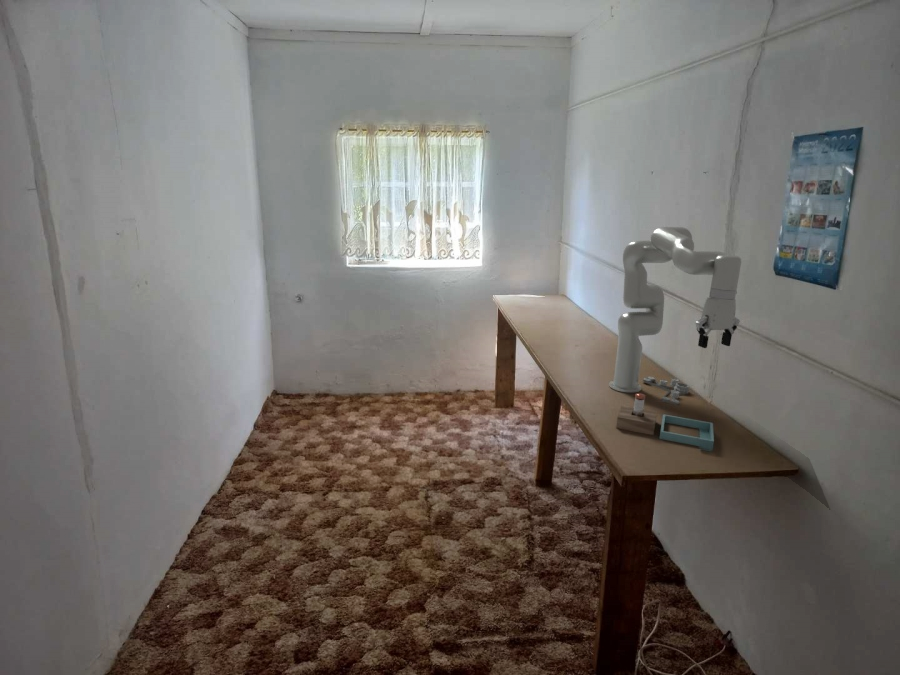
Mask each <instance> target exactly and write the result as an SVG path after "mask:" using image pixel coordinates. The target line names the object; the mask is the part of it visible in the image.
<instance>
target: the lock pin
mask: <svg viewBox="0 0 900 675" xmlns="http://www.w3.org/2000/svg"><path fill="white" fill-rule="evenodd" d="M634 394H635V397H634V402H633V404H634V405H633V407H634V411H633V415H634V416H639V417H642V414H643V409H644V405H645V399H646V394H644V393H641V392H640V393H639V392H635V393H634Z"/></svg>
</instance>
